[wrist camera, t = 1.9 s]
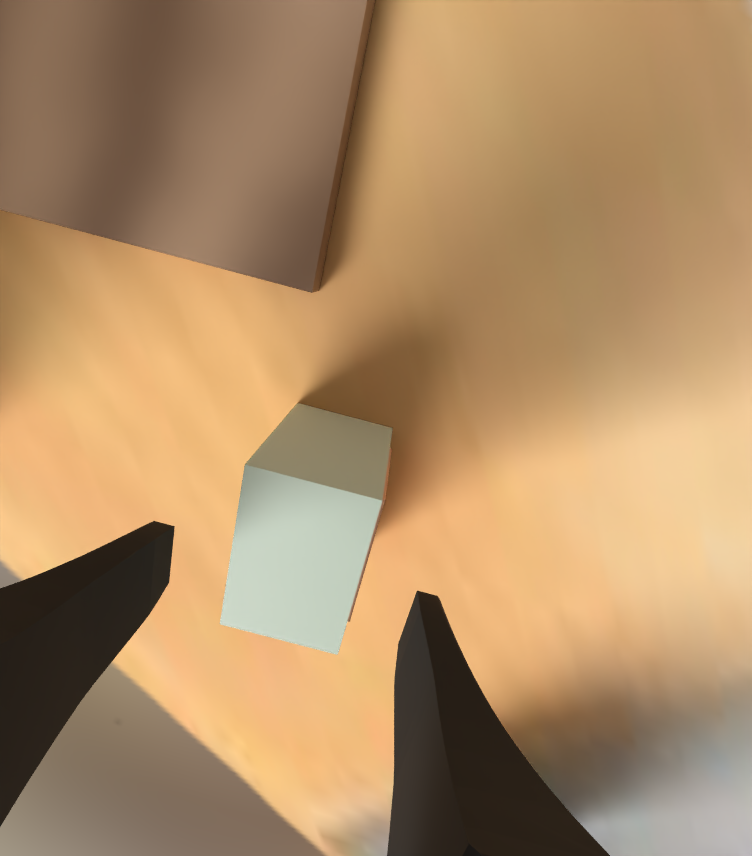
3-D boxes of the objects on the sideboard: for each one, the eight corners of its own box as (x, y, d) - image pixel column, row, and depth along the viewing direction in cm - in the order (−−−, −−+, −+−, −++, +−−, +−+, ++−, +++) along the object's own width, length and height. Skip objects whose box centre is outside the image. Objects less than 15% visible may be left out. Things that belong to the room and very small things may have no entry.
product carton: (274, 524, 20) (219, 624, 15) (297, 402, 18) (244, 464, 13) (362, 547, 20) (341, 656, 15) (396, 428, 18) (387, 502, 13)
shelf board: (-50, 192, 16) (-84, 187, 15) (-79, -140, 13) (-125, -177, 12) (318, 290, 16) (312, 292, 15) (378, -15, 13) (374, -41, 12)
